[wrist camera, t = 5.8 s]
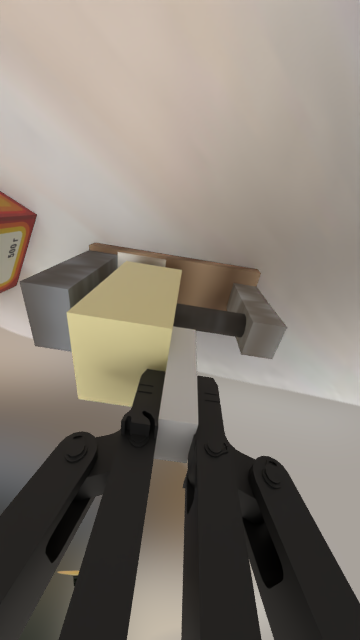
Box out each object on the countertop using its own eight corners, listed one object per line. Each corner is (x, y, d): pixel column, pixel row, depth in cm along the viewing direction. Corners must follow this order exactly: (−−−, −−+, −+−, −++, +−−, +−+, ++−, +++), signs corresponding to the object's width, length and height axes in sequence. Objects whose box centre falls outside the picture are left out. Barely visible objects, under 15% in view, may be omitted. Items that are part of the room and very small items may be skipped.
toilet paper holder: (257, 269, 23) (305, 319, 13) (241, 316, 26) (271, 386, 16) (95, 242, 23) (17, 273, 13) (97, 293, 26) (36, 351, 16)
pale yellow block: (182, 269, 19) (172, 328, 10) (173, 326, 22) (159, 410, 13) (126, 260, 18) (66, 312, 10) (125, 319, 21) (78, 399, 13)
